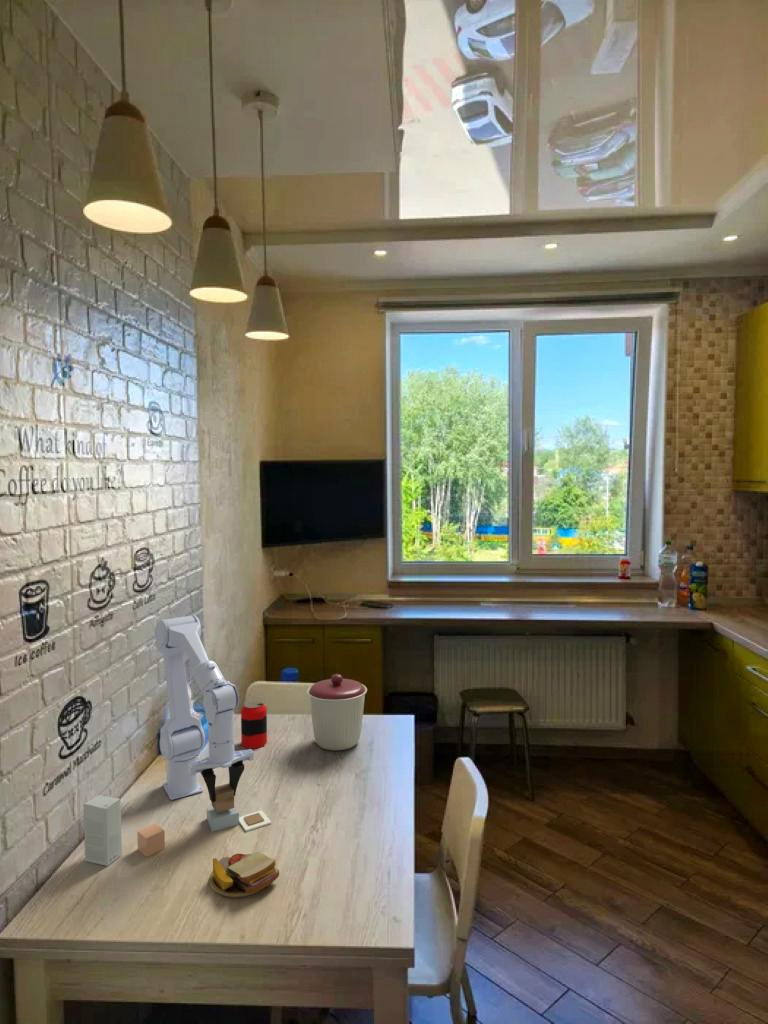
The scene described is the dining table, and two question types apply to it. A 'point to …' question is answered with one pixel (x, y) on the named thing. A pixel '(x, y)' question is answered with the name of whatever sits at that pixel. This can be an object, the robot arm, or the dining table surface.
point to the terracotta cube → (151, 839)
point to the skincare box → (102, 830)
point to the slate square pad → (222, 818)
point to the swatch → (254, 820)
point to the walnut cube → (223, 798)
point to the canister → (337, 712)
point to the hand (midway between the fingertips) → (222, 797)
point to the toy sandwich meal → (242, 874)
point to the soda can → (253, 725)
